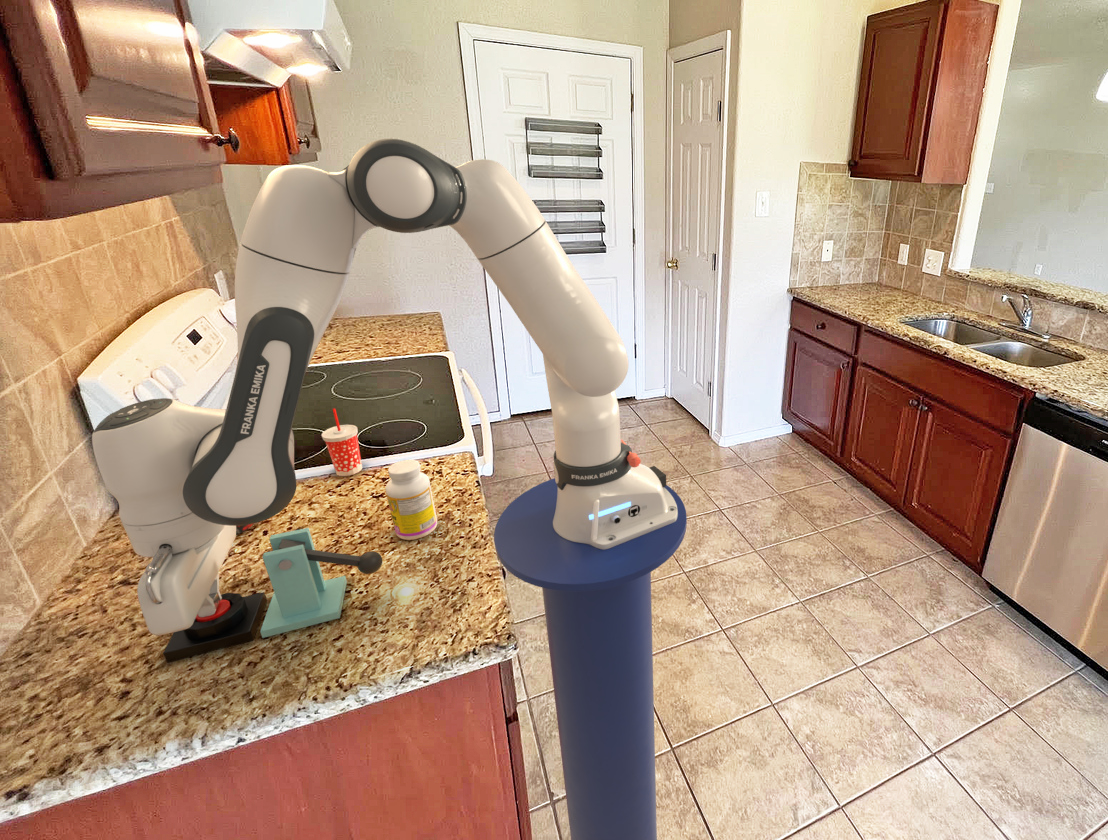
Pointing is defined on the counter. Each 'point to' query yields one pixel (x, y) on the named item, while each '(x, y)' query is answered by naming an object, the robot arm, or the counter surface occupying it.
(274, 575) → the switch bracket
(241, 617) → the control block
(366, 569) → the switch lever
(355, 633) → the counter surface
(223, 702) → the counter surface
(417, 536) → the supplement bottle
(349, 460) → the beverage cup
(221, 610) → the button
